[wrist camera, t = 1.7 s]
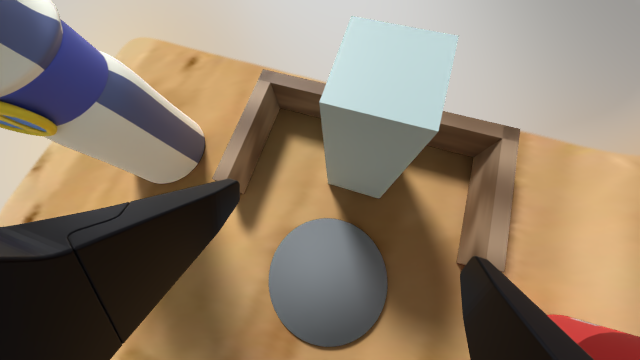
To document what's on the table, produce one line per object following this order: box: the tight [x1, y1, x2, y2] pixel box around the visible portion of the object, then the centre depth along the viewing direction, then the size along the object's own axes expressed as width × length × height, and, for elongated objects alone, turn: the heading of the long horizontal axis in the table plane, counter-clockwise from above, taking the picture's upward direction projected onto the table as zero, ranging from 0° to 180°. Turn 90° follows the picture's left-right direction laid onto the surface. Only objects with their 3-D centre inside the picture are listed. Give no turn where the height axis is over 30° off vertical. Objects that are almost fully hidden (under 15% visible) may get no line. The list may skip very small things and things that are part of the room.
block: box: [319, 16, 459, 199], centre depth 16 cm, size 5×5×13 cm
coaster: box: [269, 218, 387, 347], centre depth 20 cm, size 10×10×1 cm
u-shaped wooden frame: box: [212, 69, 520, 272], centre depth 21 cm, size 11×22×4 cm, turn 72°
